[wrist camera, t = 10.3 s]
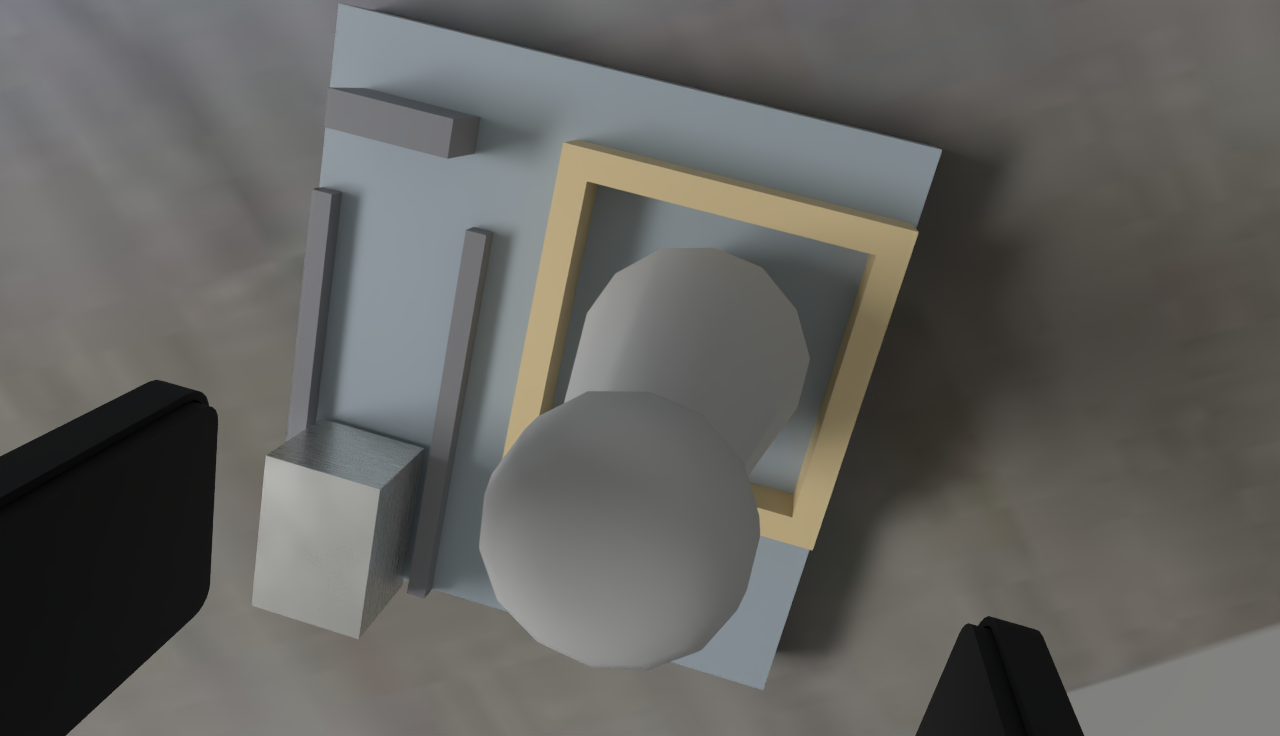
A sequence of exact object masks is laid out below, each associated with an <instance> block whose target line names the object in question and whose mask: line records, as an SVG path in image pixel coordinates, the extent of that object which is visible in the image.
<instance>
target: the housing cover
mask: <svg viewBox="0 0 1280 736" xmlns="http://www.w3.org/2000/svg"><path fill="white" fill-rule="evenodd" d="M423 452H424V448H422V447H418V446H415V445H411V444H408V443H404V442H401V441H398V440H394V439H391V438H387V437H384V436H380V435H377V434H373V433H370V432H367V431H363V430H360V429H356V428H353V427H349V426H346V425H343V424H339V423H336V422H332V421H329V420H325V419H322V418H321V419H319V420H318V421H316V422H315V423H313V424H312V425H310V426H309V427H307V428H306V429H304V430H303V431H302V432H300V433H299V434H297V435H296V436H294V437H293V438H291V439H290V440H288V441H287V442H285V443H284V444H282V445H281V446H279V447H278V448H276V449H275V450H273V451H272V452H270V453H269V454H267V455H266V460H265V471H264V481H263V492H262V502H261V513H260V524H259V534H258V545H257V555H256V566H255V577H254V587H253V598H252V606H255V607H258V608H261V609H264V610H268V611H271V612H274V613H277V614H280V615H283V616H287V617H290V618H293V619H296V620H299V621H302V622H306V623H309V624H312V625H315V626H318V627H322V628H325V629H328V630H331V631H334V632H337V633H341V634H344V635H347V636H350V637H353V638H357V639H359V638H360V637H361V636H362V634H363V633H364V632H365V631H366V630H367V628H368V627H369V626H370V625H371V623H372V622H373V621H374V620H375V618H376V617H377V616H378V615H379V614H380V612H381V611H382V610H383V609H384V607H385V606H386V605H387V604H388V602H389V601H390V600H391V599H392V598H393V596H394V595H395V594H396V593H397V591H398V590H399V589H400V588H401V586H402V584H403V578H404V571H405V565H406V559H407V553H408V546H409V540H410V534H411V527H412V521H413V515H414V509H415V502H416V496H417V490H418V484H419V477H420V471H421V465H422V458H423Z"/></svg>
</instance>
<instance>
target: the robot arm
mask: <svg viewBox="0 0 1280 736" xmlns="http://www.w3.org/2000/svg"><path fill="white" fill-rule="evenodd" d="M217 432H218V415H217V412H216V410H215V409H214V408H213V407H210V406H209V403H208V400H207V398H206V396H205V395H204V394H203V393H202V392H200V391H196V390H192V389H189V388H185V387H182V386H178V385H175V384H171V383H168V382H164V381H160V380H154V381H150V382H148V383H146V384H144V385H142V386H140V387H138V388H136V389H134V390H132V391H130V392H128V393H126V394H124V395H122V396H120V397H118V398H116V399H114V400H112V401H110V402H108V403H106V404H104V405H102V406H100V407H98V408H96V409H94V410H92V411H90V412H88V413H86V414H84V415H82V416H80V417H78V418H76V419H74V420H72V421H70V422H68V423H66V424H64V425H62V426H60V427H58V428H56V429H54V430H52V431H50V432H48V433H46V434H44V435H42V436H40V437H38V438H36V439H34V440H32V441H30V442H28V443H26V444H24V445H22V446H20V447H18V448H16V449H14V450H12V451H10V452H8V453H6V454H4V455H2V456H0V736H66V735H67V734H68V733H69V732H70V731H71V730H72V729H73V728H74V727H75V726H76V725H78V724H79V723H80V722H81V721H82V720H83V719H84V718H85V717H86V716H87V715H88V714H89V713H90V712H92V711H93V710H94V709H95V708H96V707H97V706H98V705H99V704H100V703H101V702H102V701H103V700H105V699H106V698H107V697H108V696H109V695H110V694H111V693H112V692H113V691H114V690H115V689H116V688H117V687H119V686H120V685H121V684H122V683H123V682H124V681H125V680H126V679H127V678H128V677H129V676H130V675H132V674H133V673H134V672H135V671H136V670H137V669H138V668H139V667H140V666H141V665H142V664H143V663H144V662H146V661H147V660H148V659H149V658H150V657H151V656H152V655H153V654H154V653H155V652H156V651H157V650H158V649H160V648H161V647H162V646H163V645H164V644H165V643H166V642H167V641H168V640H169V639H170V638H171V637H173V636H174V635H175V634H176V633H177V632H178V631H179V630H180V629H181V628H182V627H183V626H184V625H185V624H187V623H188V622H189V621H190V620H191V619H192V618H193V617H194V616H195V615H196V614H197V613H198V612H199V610H200V609H201V607H202V606H203V604H204V602H205V600H206V598H207V595H208V592H209V587H210V573H211V553H212V533H213V512H214V492H215V472H216V452H217ZM916 736H1084V734H1083V732H1082V729H1081V727H1080V725H1079V722H1078V720H1077V717H1076V715H1075V713H1074V710H1073V708H1072V706H1071V703H1070V701H1069V698H1068V696H1067V693H1066V691H1065V689H1064V686H1063V684H1062V681H1061V679H1060V677H1059V674H1058V672H1057V669H1056V667H1055V664H1054V662H1053V660H1052V657H1051V655H1050V652H1049V650H1048V648H1047V645H1046V643H1045V640H1044V638H1043V636H1042V635H1041V633H1040V631H1038V630H1035V629H1032V628H1029V627H1025V626H1022V625H1018V624H1015V623H1011V622H1008V621H1004V620H1001V619H997V618H994V617H990V616H988V617H986V618H984V619H983V620H982V621H981V622H980V624H979V626H976V625H973V624H969V623H968V624H966V625H965V626H964V627H963V628H962V630H961V632H960V633H959V636H958V638H957V640H956V643H955V645H954V647H953V650H952V652H951V654H950V657H949V659H948V661H947V664H946V666H945V668H944V671H943V673H942V675H941V678H940V680H939V682H938V685H937V687H936V689H935V691H934V694H933V696H932V698H931V701H930V703H929V705H928V708H927V710H926V712H925V715H924V717H923V719H922V722H921V724H920V726H919V729H918V731H917V733H916Z"/></svg>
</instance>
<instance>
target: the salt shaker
mask: <svg viewBox="0 0 1280 736" xmlns="http://www.w3.org/2000/svg"><path fill="white" fill-rule="evenodd" d="M809 361H810V357H809V353H808V350H807V346H806V342H805V339H804V335H803V331H802V328H801V324H800V320H799V317H798V313H797V310H796V308H795V307H794V306H793V305H792V303H791V302H790V301H789V300H788V298H787V297H786V296H785V295H784V294H783V292H782V291H781V290H780V289H779V287H778V286H777V285H776V284H775V283H774V281H773V280H772V279H771V278H770V276H769V275H768V274H767V273H766V272H765V270H764V269H763V268H762V267H760V266H757V265H755V264H752V263H750V262H748V261H745V260H743V259H740V258H738V257H736V256H733V255H731V254H728V253H726V252H723V251H721V250H719V249H716V248H663V249H659V250H657V251H656V252H654V253H652V254H650V255H648V256H646V257H645V258H643V259H641V260H639V261H637V262H635V263H634V264H632V265H630V266H628V267H626V268H625V269H623V270H621V271H619V272H617V273H615V275H614V276H613V278H612V279H611V280H610V282H609V283H608V285H607V286H606V287H605V289H604V290H603V292H602V293H601V294H600V296H599V297H598V299H597V300H596V301H595V303H594V304H593V306H592V307H591V308H590V310H589V311H588V312H587V315H586V319H585V323H584V327H583V331H582V335H581V339H580V343H579V346H578V350H577V354H576V358H575V362H574V366H573V370H572V374H571V378H570V382H569V386H568V389H567V393H566V397H565V401H564V403H563V404H562V405H560V406H558V407H556V408H554V409H552V410H550V411H548V412H546V413H544V414H542V415H540V416H538V417H537V418H536V419H535V420H534V421H533V422H532V423H531V424H530V425H528V426H527V427H526V428H525V429H524V431H523V432H522V434H521V435H520V436H519V438H518V439H517V440H516V442H515V443H514V444H513V446H512V447H511V448H510V450H509V451H508V453H507V454H506V455H505V457H504V458H503V459H502V461H501V462H500V463H499V465H498V466H497V468H496V469H495V470H494V472H493V473H492V475H491V478H490V480H489V483H488V486H487V489H486V491H485V494H484V503H483V513H482V523H481V532H480V542H479V550H480V553H481V555H482V558H483V561H484V564H485V567H486V570H487V573H488V575H489V578H490V581H491V584H492V587H493V590H494V592H495V595H496V598H497V601H498V602H499V603H500V604H501V605H502V606H503V607H504V608H505V609H506V610H507V611H508V612H509V613H510V614H511V615H512V616H513V617H514V618H515V619H516V620H517V621H518V622H519V623H520V624H521V625H522V626H523V627H524V628H525V629H526V630H527V631H528V633H529V634H530V635H531V636H532V637H533V638H534V639H535V640H536V641H537V642H539V643H541V644H543V645H545V646H547V647H549V648H552V649H554V650H556V651H558V652H560V653H562V654H564V655H566V656H568V657H570V658H573V659H575V660H577V661H579V662H581V663H583V664H585V665H587V666H589V667H599V668H622V669H644V670H649V669H652V668H655V667H657V666H660V665H663V664H666V663H668V662H671V661H674V660H677V659H679V658H682V657H685V656H688V655H690V654H693V653H696V652H699V651H701V650H702V649H703V648H704V647H705V646H706V645H707V644H708V642H709V641H710V640H711V639H712V638H713V637H714V636H715V635H716V633H717V632H718V631H719V630H720V629H721V628H722V627H723V626H724V624H725V623H726V622H727V621H728V620H729V619H730V618H731V617H732V615H733V614H734V613H735V612H736V611H737V610H738V608H739V605H740V603H741V601H742V599H743V597H744V595H745V593H746V591H747V588H748V584H749V580H750V575H751V571H752V567H753V563H754V559H755V555H756V551H757V547H758V543H759V539H760V518H759V513H758V510H757V506H756V503H755V499H754V496H753V492H752V489H751V486H750V482H749V479H748V475H749V474H750V473H751V471H752V470H753V468H754V467H755V466H756V464H757V463H758V462H759V460H760V459H761V457H762V456H763V455H764V453H765V452H766V450H767V449H768V448H769V446H770V445H771V443H772V442H773V441H774V439H775V438H776V437H777V435H778V434H779V432H780V431H781V430H782V428H783V427H784V425H785V424H786V423H787V421H788V420H789V418H790V417H791V416H792V414H793V413H794V412H795V410H796V409H797V407H798V404H799V400H800V396H801V392H802V388H803V384H804V380H805V377H806V373H807V369H808V365H809Z"/></svg>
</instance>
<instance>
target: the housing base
mask: <svg viewBox="0 0 1280 736" xmlns="http://www.w3.org/2000/svg"><path fill="white" fill-rule="evenodd" d="M324 127H326V129H325V139H324V148H323V158H322V167H321V177H320V187H319V188H315V189H312V193H311V203H310V213H309V223H308V232H307V242H306V252H305V262H304V271H303V281H302V291H301V301H300V311H299V320H298V330H297V340H296V350H295V360H294V369H293V379H292V389H291V399H290V409H289V418H288V428H287V438H286V442H287V441H288V440H290V439H291V438H293V437H294V436H296V435H297V434H299V433H300V432H302V431H303V430H304V429H306V428H307V427H309V426H310V425H312V424H313V423H315V422H316V421H318V420H319V419H321V418H322V419H325V420H329V421H332V422H336V423H339V424H343V425H346V426H349V427H353V428H356V429H360V430H363V431H367V432H370V433H373V434H377V435H380V436H384V437H387V438H391V439H394V440H398V441H401V442H404V443H408V444H411V445H415V446H418V447H422V448H424V452H423V458H422V465H421V471H420V477H419V484H418V490H417V496H416V502H415V509H414V515H413V521H412V527H411V534H410V540H409V546H408V553H407V559H406V565H405V571H404V578H403V580H405V581H408V582H409V584H408V590H407V593H408V594H411V595H415V596H418V597H421V598H424V599H425V597H426V596H427V595H428V593H429V592H430V591H431V589H435V590H438V591H441V592H444V593H448V594H451V595H454V596H457V597H461V598H464V599H467V600H470V601H474V602H477V603H480V604H484V605H487V606H490V607H493V608H497V609H500V610H503V611H506V612H508V611H507V610H506V609H505V608H504V607H503V606H502V605H501V604H500V603H499V602H498V601H497V598H496V595H495V592H494V590H493V587H492V584H491V581H490V578H489V575H488V573H487V570H486V567H485V564H484V561H483V558H482V555H481V553H480V550H479V542H480V532H481V523H482V513H483V503H484V494H485V491H486V489H487V486H488V483H489V480H490V478H491V475H492V473H493V472H494V470H495V469H496V468H497V466H498V465H499V463H500V462H501V461H502V459H503V458H504V457H505V455H506V454H507V453H508V451H509V450H510V448H511V447H512V446H513V444H514V443H515V442H516V440H517V439H518V438H519V436H520V435H521V434H522V432H523V431H524V429H525V428H526V427H527V426H528V425H530V424H531V423H532V422H533V421H534V420H535V419H536V418H537V417H538V416H540V415H542V414H544V413H546V412H548V411H550V410H552V409H554V408H556V407H558V406H560V405H562V404H563V403H564V401H565V397H566V393H567V389H568V386H569V382H570V378H571V374H572V370H573V366H574V362H575V358H576V354H577V350H578V346H579V343H580V339H581V335H582V331H583V327H584V323H585V319H586V315H587V312H588V311H589V310H590V308H591V307H592V306H593V304H594V303H595V301H596V300H597V299H598V297H599V296H600V294H601V293H602V292H603V290H604V289H605V287H606V286H607V285H608V283H609V282H610V280H611V279H612V278H613V276H614V275H615V273H617V272H619V271H621V270H623V269H625V268H626V267H628V266H630V265H632V264H634V263H635V262H637V261H639V260H641V259H643V258H645V257H646V256H648V255H650V254H652V253H654V252H656V251H657V250H659V249H663V248H716V249H719V250H721V251H723V252H726V253H728V254H731V255H733V256H736V257H738V258H740V259H743V260H745V261H748V262H750V263H752V264H755V265H757V266H760V267H762V268H763V269H764V270H765V272H766V273H767V274H768V275H769V276H770V278H771V279H772V280H773V281H774V283H775V284H776V285H777V286H778V287H779V289H780V290H781V291H782V292H783V294H784V295H785V296H786V297H787V298H788V300H789V301H790V302H791V303H792V305H793V306H794V307H795V308H796V310H797V313H798V317H799V320H800V324H801V328H802V331H803V335H804V339H805V342H806V346H807V350H808V353H809V357H810V361H809V365H808V369H807V373H806V377H805V380H804V384H803V388H802V392H801V396H800V400H799V404H798V407H797V409H796V410H795V412H794V413H793V414H792V416H791V417H790V418H789V420H788V421H787V423H786V424H785V425H784V427H783V428H782V430H781V431H780V432H779V434H778V435H777V437H776V438H775V439H774V441H773V442H772V443H771V445H770V446H769V448H768V449H767V450H766V452H765V453H764V455H763V456H762V457H761V459H760V460H759V462H758V463H757V464H756V466H755V467H754V468H753V470H752V471H751V473H750V474H749V475H748V479H749V482H750V486H751V489H752V492H753V496H754V499H755V503H756V506H757V510H758V513H759V518H760V539H759V543H758V547H757V551H756V555H755V559H754V563H753V567H752V571H751V575H750V580H749V584H748V588H747V591H746V593H745V595H744V597H743V599H742V601H741V603H740V605H739V608H738V610H737V611H736V612H735V613H734V614H733V615H732V617H731V618H730V619H729V620H728V621H727V622H726V623H725V624H724V626H723V627H722V628H721V629H720V630H719V631H718V632H717V633H716V635H715V636H714V637H713V638H712V639H711V640H710V641H709V642H708V644H707V645H706V646H705V647H704V648H703V649H702V650H701V651H699V652H696V653H693V654H690V655H688V656H685V657H682V658H679V659H677V660H674V661H671V662H673V663H676V664H679V665H683V666H686V667H689V668H692V669H696V670H699V671H702V672H705V673H709V674H712V675H715V676H719V677H722V678H725V679H728V680H732V681H735V682H738V683H741V684H745V685H748V686H751V687H754V688H758V689H761V690H763V689H764V686H765V683H766V680H767V677H768V674H769V671H770V668H771V665H772V662H773V659H774V656H775V653H776V650H777V647H778V643H779V640H780V637H781V634H782V631H783V628H784V625H785V622H786V619H787V616H788V613H789V610H790V607H791V604H792V601H793V598H794V595H795V592H796V589H797V586H798V583H799V580H800V577H801V574H802V571H803V568H804V565H805V562H806V559H807V556H808V553H809V550H812V551H813V548H814V545H815V542H816V539H817V536H818V533H819V530H820V527H821V524H822V521H823V518H824V515H825V512H826V509H827V506H828V503H829V500H830V497H831V494H832V491H833V488H834V485H835V482H836V479H837V476H838V473H839V470H840V467H841V464H842V461H843V458H844V455H845V452H846V449H847V446H848V443H849V440H850V437H851V434H852V431H853V428H854V425H855V422H856V419H857V416H858V413H859V410H860V407H861V404H862V401H863V398H864V395H865V392H866V389H867V386H868V383H869V380H870V377H871V374H872V371H873V368H874V365H875V362H876V359H877V356H878V353H879V350H880V347H881V344H882V341H883V338H884V335H885V332H886V329H887V326H888V323H889V320H890V317H891V314H892V311H893V308H894V305H895V302H896V299H897V296H898V293H899V290H900V287H901V284H902V281H903V278H904V275H905V272H906V269H907V266H908V263H909V260H910V257H911V254H912V251H913V248H914V245H915V242H916V239H917V236H918V233H919V232H918V231H917V229H916V228H917V225H918V222H919V219H920V216H921V213H922V210H923V207H924V204H925V201H926V198H927V195H928V192H929V189H930V186H931V183H932V180H933V177H934V173H935V170H936V167H937V164H938V161H939V158H940V155H941V152H942V149H939V148H937V147H934V146H932V145H928V144H924V143H920V142H915V141H911V140H907V139H903V138H899V137H895V136H891V135H887V134H882V133H878V132H874V131H870V130H866V129H862V128H858V127H854V126H850V125H845V124H841V123H837V122H833V121H829V120H825V119H821V118H817V117H812V116H808V115H804V114H800V113H796V112H792V111H788V110H784V109H779V108H775V107H771V106H767V105H763V104H759V103H755V102H751V101H746V100H742V99H738V98H734V97H730V96H726V95H722V94H718V93H713V92H709V91H705V90H701V89H697V88H693V87H689V86H685V85H680V84H676V83H672V82H668V81H664V80H660V79H656V78H652V77H648V76H643V75H639V74H635V73H631V72H627V71H623V70H619V69H615V68H610V67H606V66H602V65H598V64H594V63H590V62H586V61H582V60H577V59H573V58H569V57H565V56H561V55H557V54H553V53H549V52H544V51H540V50H536V49H532V48H528V47H524V46H520V45H516V44H511V43H507V42H503V41H499V40H495V39H491V38H487V37H483V36H478V35H474V34H470V33H466V32H462V31H458V30H454V29H450V28H445V27H441V26H437V25H433V24H429V23H425V22H421V21H417V20H413V19H408V18H404V17H400V16H396V15H392V14H388V13H384V12H380V11H375V10H371V9H366V8H361V7H355V6H350V5H345V4H340V3H339V5H338V15H337V24H336V34H335V43H334V53H333V63H332V72H331V82H330V87H328V91H327V100H326V110H325V120H324Z"/></svg>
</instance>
